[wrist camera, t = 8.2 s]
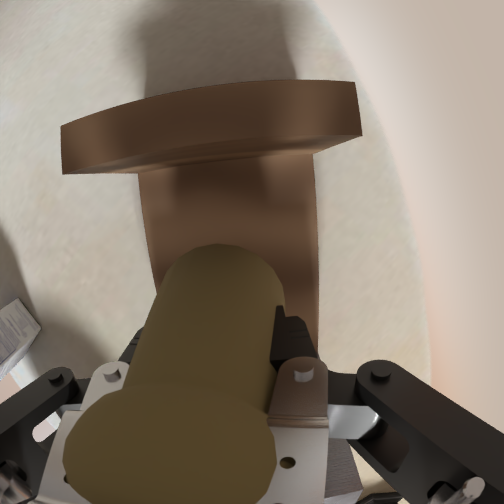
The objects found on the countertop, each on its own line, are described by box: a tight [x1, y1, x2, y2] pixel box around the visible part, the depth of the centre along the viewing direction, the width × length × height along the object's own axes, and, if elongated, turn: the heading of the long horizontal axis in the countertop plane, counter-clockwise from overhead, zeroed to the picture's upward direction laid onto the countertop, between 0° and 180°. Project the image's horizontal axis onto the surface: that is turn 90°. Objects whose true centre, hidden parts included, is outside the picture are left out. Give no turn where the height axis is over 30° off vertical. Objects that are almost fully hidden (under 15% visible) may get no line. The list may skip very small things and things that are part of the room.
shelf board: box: [138, 154, 319, 352], centre depth 19 cm, size 24×11×2 cm, turn 5°
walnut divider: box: [61, 80, 362, 175], centre depth 12 cm, size 2×11×8 cm, turn 95°
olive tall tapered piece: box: [62, 243, 293, 504], centre depth 8 cm, size 6×6×11 cm
